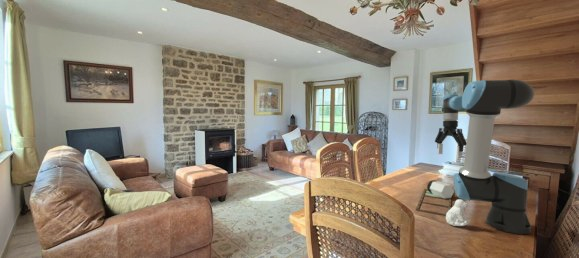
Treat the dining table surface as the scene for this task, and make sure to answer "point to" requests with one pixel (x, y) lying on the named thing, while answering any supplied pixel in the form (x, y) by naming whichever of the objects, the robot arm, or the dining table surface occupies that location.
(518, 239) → the dining table surface
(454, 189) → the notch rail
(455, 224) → the white animal figurine
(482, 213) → the dining table surface
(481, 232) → the dining table surface
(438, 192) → the jar
